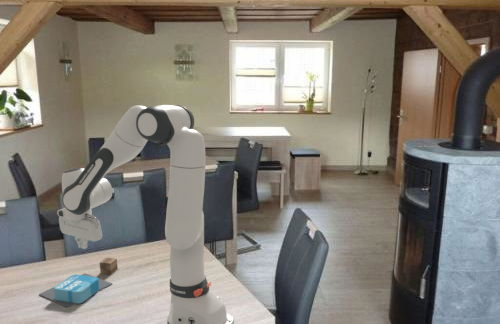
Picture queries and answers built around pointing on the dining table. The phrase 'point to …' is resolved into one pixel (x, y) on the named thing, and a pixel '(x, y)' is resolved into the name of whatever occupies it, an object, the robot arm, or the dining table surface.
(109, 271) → the walnut cube
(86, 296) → the data package
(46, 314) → the dining table surface
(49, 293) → the mat
